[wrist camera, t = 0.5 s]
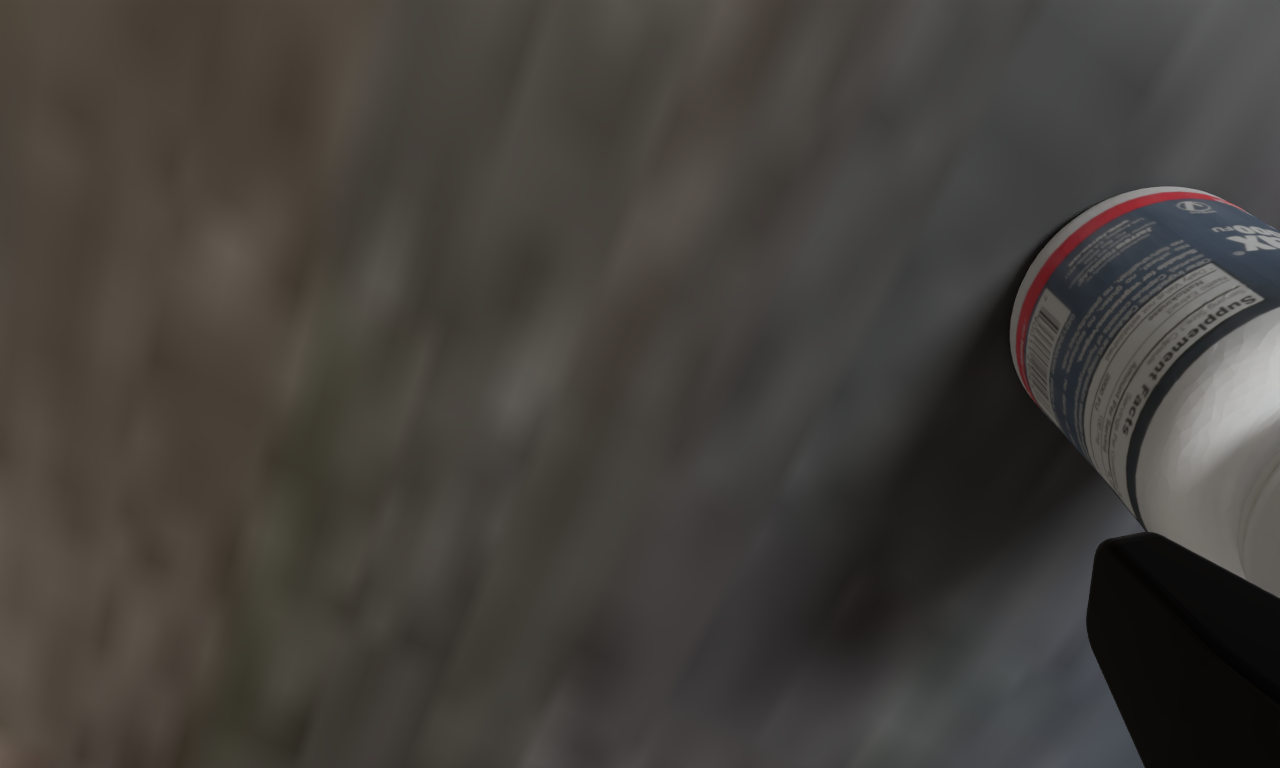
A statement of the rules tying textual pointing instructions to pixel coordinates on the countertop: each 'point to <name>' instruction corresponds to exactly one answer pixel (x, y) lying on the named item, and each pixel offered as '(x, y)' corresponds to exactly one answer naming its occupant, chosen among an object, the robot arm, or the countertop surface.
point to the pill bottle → (1166, 365)
